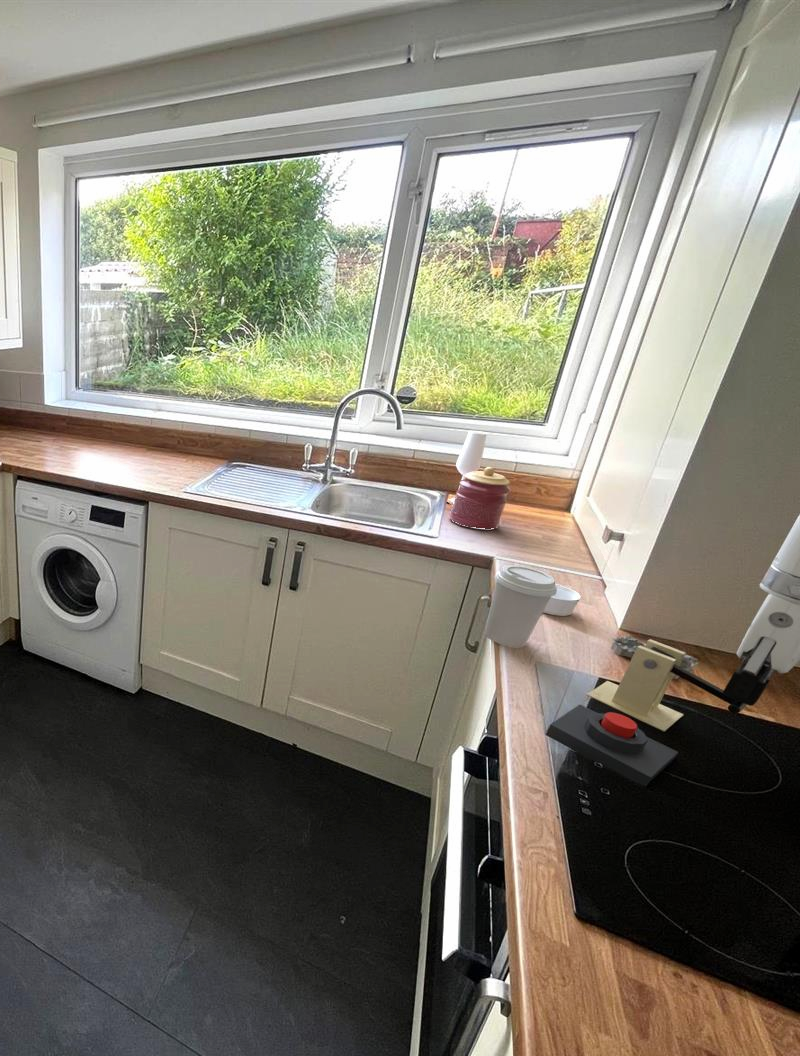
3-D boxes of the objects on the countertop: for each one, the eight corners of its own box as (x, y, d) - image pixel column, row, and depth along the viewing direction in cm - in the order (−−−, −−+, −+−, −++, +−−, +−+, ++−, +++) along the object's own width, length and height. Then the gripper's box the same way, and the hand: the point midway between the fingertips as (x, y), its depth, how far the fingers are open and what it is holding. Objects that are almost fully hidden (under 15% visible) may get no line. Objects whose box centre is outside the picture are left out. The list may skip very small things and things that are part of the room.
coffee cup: (463, 628, 118) (486, 562, 112) (511, 631, 118) (536, 564, 112) (493, 655, 109) (519, 584, 103) (544, 658, 109) (574, 587, 103)
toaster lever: (744, 707, 86) (756, 695, 84) (733, 718, 83) (745, 706, 82) (647, 655, 94) (657, 644, 93) (635, 663, 92) (644, 652, 90)
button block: (672, 763, 84) (684, 742, 83) (644, 789, 79) (656, 767, 78) (574, 715, 94) (584, 694, 92) (545, 735, 89) (554, 714, 87)
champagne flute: (464, 501, 196) (486, 431, 186) (470, 508, 190) (493, 435, 180) (442, 499, 197) (462, 429, 188) (448, 505, 191) (469, 433, 182)
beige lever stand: (680, 720, 93) (714, 659, 89) (661, 737, 89) (695, 673, 85) (604, 686, 101) (631, 628, 96) (584, 700, 97) (611, 640, 93)
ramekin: (528, 611, 125) (535, 594, 124) (520, 594, 133) (526, 577, 131) (579, 622, 122) (586, 603, 120) (567, 603, 129) (574, 586, 128)
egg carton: (694, 680, 104) (705, 661, 102) (666, 686, 102) (676, 667, 100) (628, 647, 113) (636, 629, 112) (600, 652, 111) (609, 634, 109)
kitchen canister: (442, 521, 176) (458, 465, 170) (455, 512, 185) (472, 458, 178) (491, 534, 168) (510, 476, 161) (503, 524, 176) (522, 468, 169)
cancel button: (636, 733, 84) (641, 723, 84) (626, 741, 83) (631, 732, 82) (606, 718, 87) (611, 709, 87) (596, 726, 86) (600, 716, 85)
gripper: (835, 612, 70) (760, 731, 78) (862, 587, 78) (790, 698, 85) (748, 586, 76) (685, 699, 83) (780, 565, 83) (720, 670, 91)
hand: (738, 698), depth 84 cm, fingers closed
